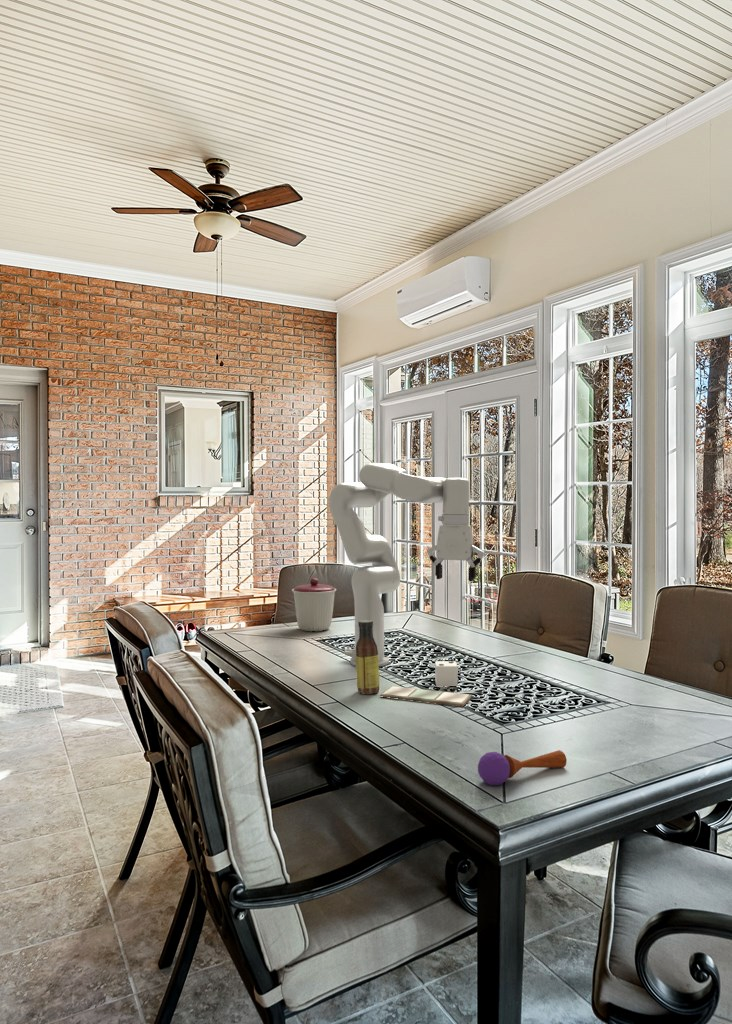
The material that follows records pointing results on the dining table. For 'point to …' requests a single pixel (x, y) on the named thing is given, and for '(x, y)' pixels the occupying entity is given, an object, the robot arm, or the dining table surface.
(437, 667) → the die
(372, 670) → the sauce bottle
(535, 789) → the dining table surface
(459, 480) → the robot arm
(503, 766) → the kendama
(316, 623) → the canister
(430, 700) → the board
